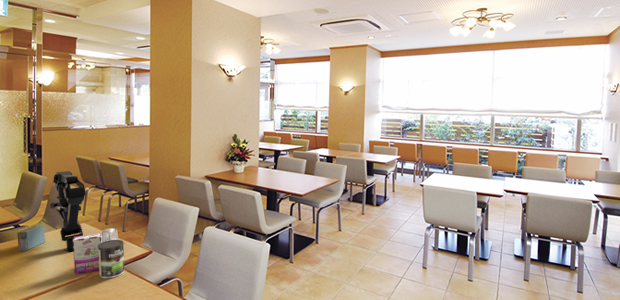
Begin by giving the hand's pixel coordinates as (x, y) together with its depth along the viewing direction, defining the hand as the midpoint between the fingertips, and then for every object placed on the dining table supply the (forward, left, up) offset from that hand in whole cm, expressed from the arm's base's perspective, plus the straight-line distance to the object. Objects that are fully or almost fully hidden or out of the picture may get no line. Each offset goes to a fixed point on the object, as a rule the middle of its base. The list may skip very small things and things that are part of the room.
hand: (66, 221), depth 194 cm
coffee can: (-54, +11, -12) cm, 56 cm away
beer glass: (-40, +2, -12) cm, 42 cm away
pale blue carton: (+10, +13, -12) cm, 20 cm away
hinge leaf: (+9, +13, -12) cm, 19 cm away
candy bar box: (-42, +14, -12) cm, 46 cm away
